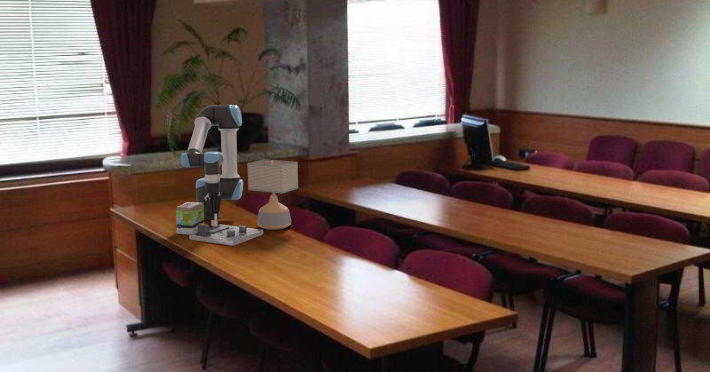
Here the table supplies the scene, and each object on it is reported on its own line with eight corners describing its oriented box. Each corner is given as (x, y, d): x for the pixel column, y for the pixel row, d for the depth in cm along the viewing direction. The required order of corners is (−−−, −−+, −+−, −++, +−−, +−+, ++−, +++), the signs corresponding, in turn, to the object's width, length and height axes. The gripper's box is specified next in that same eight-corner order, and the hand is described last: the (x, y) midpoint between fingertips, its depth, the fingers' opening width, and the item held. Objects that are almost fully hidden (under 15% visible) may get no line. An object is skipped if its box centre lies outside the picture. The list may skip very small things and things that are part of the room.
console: (220, 228, 431) (219, 219, 430) (263, 234, 417) (263, 225, 416) (188, 239, 408) (188, 229, 407) (233, 245, 395) (232, 236, 394)
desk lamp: (300, 225, 436) (299, 160, 429) (281, 233, 419) (279, 165, 413) (267, 221, 446) (265, 157, 439) (247, 228, 429) (245, 162, 423)
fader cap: (201, 232, 411) (201, 223, 410) (209, 234, 408) (208, 224, 407) (197, 234, 408) (197, 224, 407) (205, 235, 406) (205, 225, 405)
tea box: (194, 235, 417) (192, 207, 414) (176, 234, 419) (174, 206, 416) (204, 228, 431) (203, 201, 429) (187, 227, 433) (186, 201, 431)
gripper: (214, 178, 418) (216, 222, 423) (198, 183, 407) (200, 227, 412) (226, 180, 415) (227, 223, 419) (210, 184, 403) (212, 229, 408)
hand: (214, 225), depth 416 cm, fingers closed
